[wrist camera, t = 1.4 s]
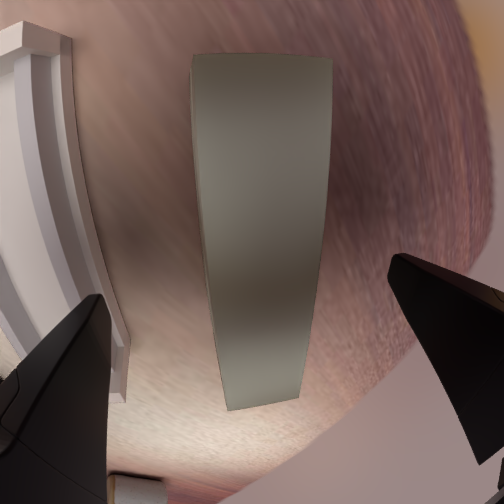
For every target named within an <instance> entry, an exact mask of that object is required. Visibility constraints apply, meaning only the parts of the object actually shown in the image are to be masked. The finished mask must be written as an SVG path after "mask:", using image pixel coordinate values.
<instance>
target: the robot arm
mask: <svg viewBox="0 0 504 504" xmlns="http://www.w3.org/2000/svg"><path fill="white" fill-rule="evenodd" d="M387 279H388V283H389V285H390V287H391V289H392V291H393V293H394V295H395V297H396V299H397V301H398V303H399V305H400V307H401V309H402V311H403V313H404V315H405V317H406V319H407V321H408V323H409V325H410V326H411V328H412V330H413V331H414V333H415V335H416V337H417V338H418V340H419V342H420V344H421V346H422V347H423V349H424V351H425V353H426V355H427V356H428V358H429V360H430V362H431V364H432V365H433V368H434V369H435V371H436V373H437V375H438V377H439V379H440V381H441V383H442V385H443V387H444V389H445V391H446V393H447V395H448V397H449V399H450V401H451V403H452V405H453V407H454V409H455V411H456V414H457V415H458V418H459V421H460V423H461V425H462V427H463V429H464V432H465V434H466V436H467V439H468V441H469V443H470V446H471V448H472V450H473V453H474V455H475V458H476V460H477V463H478V464H479V465H481V464H482V463H484V462H485V461H486V460H487V459H489V458H490V457H491V456H493V455H494V454H495V453H496V452H497V451H499V450H500V449H501V448H502V447H504V292H501V291H499V290H497V289H495V288H492V287H491V288H490V286H487V285H485V284H483V283H480V282H478V281H475V280H473V279H470V278H468V277H466V276H463V275H461V274H458V273H456V272H453V271H451V270H448V269H446V268H443V267H440V266H438V265H435V264H433V263H430V262H427V261H425V260H422V259H420V258H417V257H414V256H412V255H409V254H406V253H399V254H395V255H393V257H392V259H391V263H390V267H389V271H388V275H387ZM111 335H112V320H111V315H110V312H109V310H108V307H107V304H106V302H105V299H104V297H103V295H102V294H100V293H98V294H89V295H88V296H86V297H85V298H84V299H83V300H82V301H81V302H80V303H79V304H78V305H77V306H76V307H75V308H74V309H73V310H72V311H71V312H70V313H69V314H68V315H67V316H65V317H64V318H63V319H62V320H61V321H60V322H59V323H58V324H57V325H56V326H55V327H54V328H53V329H52V330H51V331H50V332H49V333H48V334H47V335H46V336H45V337H44V338H43V339H42V340H41V341H40V342H39V344H38V345H37V346H36V347H35V348H34V349H33V350H32V351H31V352H30V353H29V354H28V355H27V356H26V357H25V358H24V359H23V360H22V361H21V362H20V364H19V365H18V366H17V369H16V368H15V369H14V370H13V371H12V372H11V373H10V374H9V376H8V377H7V378H6V379H5V380H4V381H2V380H1V379H0V504H108V503H107V473H106V448H107V418H108V402H109V389H110V378H111ZM498 489H499V492H497V493H496V494H495V495H494V496H493V497H492V498H491V499H490V500H488V501H487V502H486V503H485V504H504V458H502V464H501V470H500V476H499V482H498Z"/></svg>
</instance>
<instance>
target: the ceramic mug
mask: <svg viewBox="0 0 504 504" xmlns="http://www.w3.org/2000/svg"><path fill="white" fill-rule="evenodd" d="M107 503H108V504H168V498H167V491H166V487H165V485H164V483H163V482H161V481H156V480H149V479H142V478H134V477H129V476H124V475H110V476H109V477H108V479H107Z"/></svg>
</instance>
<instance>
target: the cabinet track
mask: <svg viewBox="0 0 504 504" xmlns="http://www.w3.org/2000/svg"><path fill="white" fill-rule="evenodd" d="M98 293H100V294H102V295H103V297H104V299H105V302H106V304H107V307H108V310H109V312H110V315H111V320H112V335H111V378H110V389H109V402H108V403H126V387H127V374H128V363H129V352H130V343H131V339H130V337H129V334H128V332H127V329H126V326H125V323H124V321H123V318H122V315H121V312H120V310H119V307H118V304H117V301H116V298H115V295H114V292H113V289H112V286H111V283H110V279H109V276H108V273H107V269H106V266H105V263H104V259H103V256H102V252H101V248H100V245H99V241H98V237H97V233H96V229H95V225H94V221H93V217H92V212H91V208H90V203H89V199H88V194H87V189H86V184H85V178H84V173H83V167H82V161H81V155H80V148H79V141H78V134H77V126H76V117H75V107H74V95H73V79H72V38H69V37H67V36H64V35H62V34H59V33H57V32H54V31H52V30H49V29H46V28H43V27H41V26H38V25H35V24H32V23H29V22H26V21H21V22H18V23H16V24H14V25H12V26H10V27H7V28H5V29H3V30H1V31H0V327H1V328H2V330H3V332H4V333H5V335H6V337H7V338H8V340H9V342H10V343H11V345H12V346H13V348H14V349H15V351H16V353H17V354H18V356H19V357H20V359H21V360H23V359H24V358H25V357H26V356H27V355H28V354H29V353H30V352H31V351H32V350H33V349H34V348H35V347H36V346H37V345H38V344H39V342H40V341H41V340H42V339H43V338H44V337H45V336H46V335H47V334H48V333H49V332H50V331H51V330H52V329H53V328H54V327H55V326H56V325H57V324H58V323H59V322H60V321H61V320H62V319H63V318H64V317H65V316H67V315H68V314H69V313H70V312H71V311H72V310H73V309H74V308H75V307H76V306H77V305H78V304H79V303H80V302H81V301H82V300H83V299H84V298H85V297H86V296H88V295H89V294H98Z"/></svg>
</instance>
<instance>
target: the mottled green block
mask: <svg viewBox="0 0 504 504" xmlns="http://www.w3.org/2000/svg"><path fill="white" fill-rule="evenodd" d="M189 89H190V110H191V128H192V144H193V158H194V172H195V184H196V196H197V207H198V217H199V227H200V237H201V246H202V255H203V264H204V273H205V281H206V289H207V297H208V303H209V310H210V316H211V322H212V328H213V334H214V340H215V346H216V352H217V358H218V363H219V369H220V374H221V380H222V385H223V390H224V395H225V401H226V406H227V411H233V410H240V409H246V408H251V407H257V406H262V405H267V404H272V403H277V402H282V401H286V400H291V399H295V398H299V393H300V388H301V383H302V378H303V373H304V367H305V361H306V356H307V350H308V344H309V338H310V332H311V325H312V319H313V312H314V305H315V298H316V291H317V284H318V276H319V268H320V260H321V251H322V242H323V233H324V223H325V213H326V202H327V190H328V176H329V162H330V145H331V123H332V91H333V59H330V58H322V57H313V56H302V55H289V54H270V53H218V54H199V55H193V60H192V65H191V69H190V74H189Z"/></svg>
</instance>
